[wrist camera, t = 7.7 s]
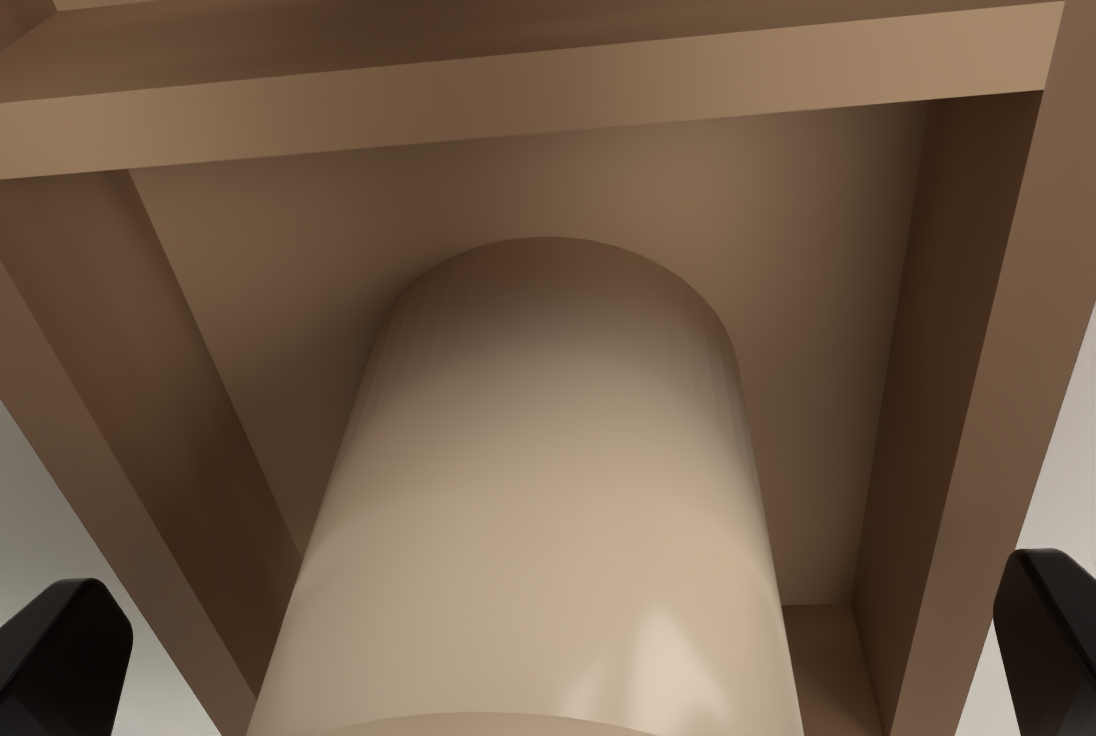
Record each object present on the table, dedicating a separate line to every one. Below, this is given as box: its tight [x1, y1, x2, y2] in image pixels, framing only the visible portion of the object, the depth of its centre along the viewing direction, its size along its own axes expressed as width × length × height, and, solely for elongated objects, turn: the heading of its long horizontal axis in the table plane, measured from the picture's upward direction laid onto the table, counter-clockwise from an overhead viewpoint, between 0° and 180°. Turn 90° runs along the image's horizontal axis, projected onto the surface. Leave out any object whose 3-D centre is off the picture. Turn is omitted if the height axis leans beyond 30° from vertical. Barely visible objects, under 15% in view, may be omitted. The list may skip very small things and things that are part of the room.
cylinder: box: [246, 236, 804, 736], centre depth 8 cm, size 5×5×8 cm
